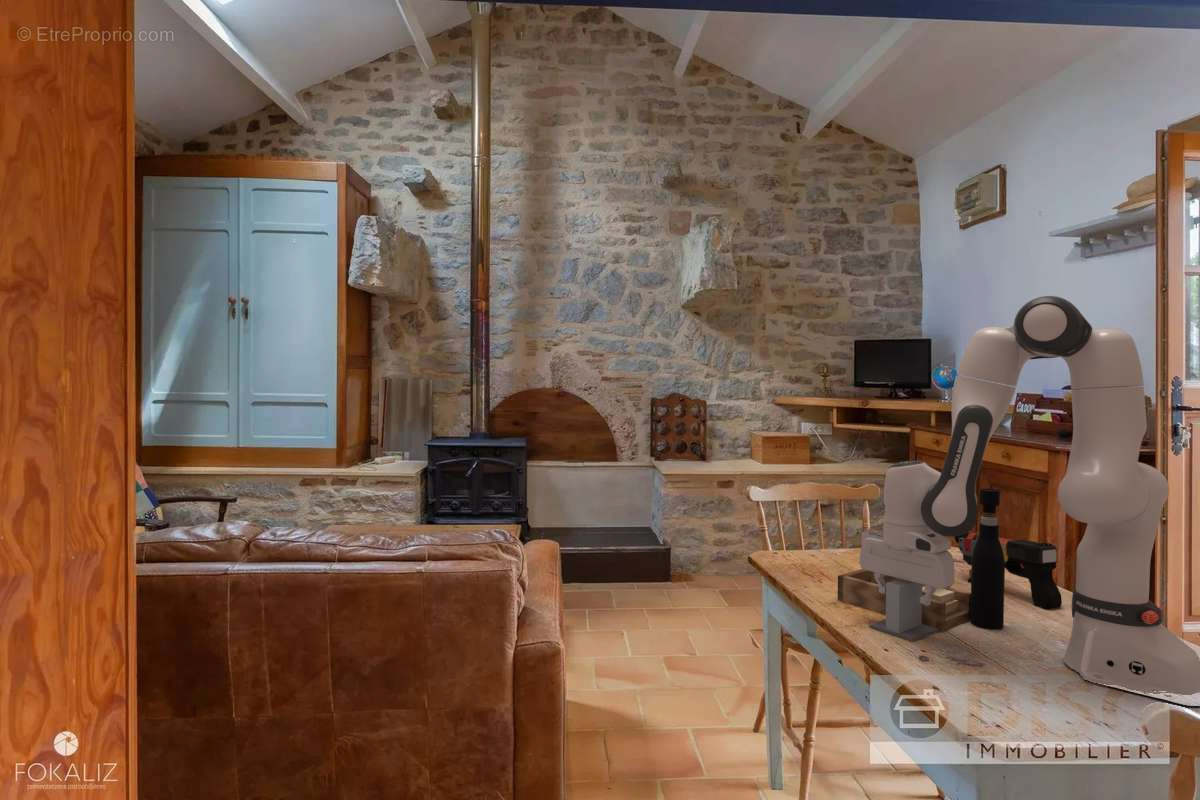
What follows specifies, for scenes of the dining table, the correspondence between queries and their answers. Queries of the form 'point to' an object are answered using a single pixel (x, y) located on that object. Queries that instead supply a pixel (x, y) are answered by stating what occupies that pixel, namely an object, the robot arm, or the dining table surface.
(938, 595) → the offcut top
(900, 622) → the gray rectangular block
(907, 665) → the dining table surface
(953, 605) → the block
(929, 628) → the flat gray square tile
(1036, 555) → the toy gun
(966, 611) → the wooden box
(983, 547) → the wine bottle
